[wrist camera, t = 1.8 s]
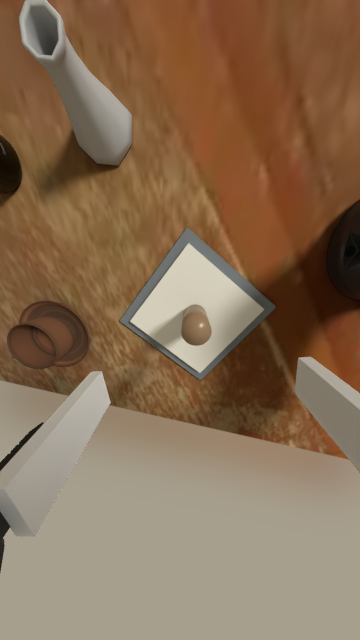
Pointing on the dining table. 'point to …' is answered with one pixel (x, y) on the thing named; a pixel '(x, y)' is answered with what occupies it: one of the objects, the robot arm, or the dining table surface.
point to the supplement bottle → (8, 167)
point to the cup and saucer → (48, 336)
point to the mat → (224, 268)
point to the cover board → (191, 291)
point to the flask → (77, 86)
